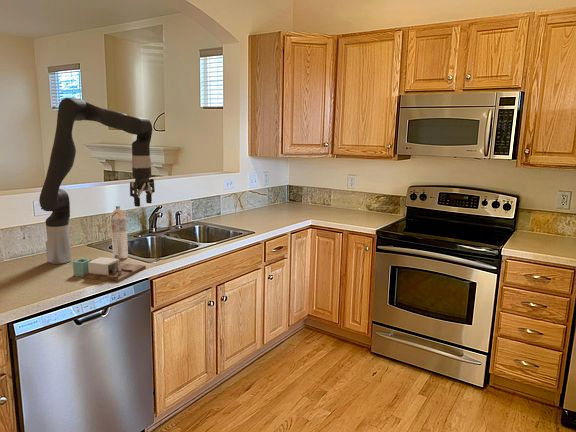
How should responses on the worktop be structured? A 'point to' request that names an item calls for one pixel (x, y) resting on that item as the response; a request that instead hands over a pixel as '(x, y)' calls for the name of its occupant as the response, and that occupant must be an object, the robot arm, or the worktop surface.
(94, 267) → the white rectangular block
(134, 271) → the board
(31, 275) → the worktop surface
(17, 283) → the worktop surface
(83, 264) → the sleeve
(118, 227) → the water bottle
